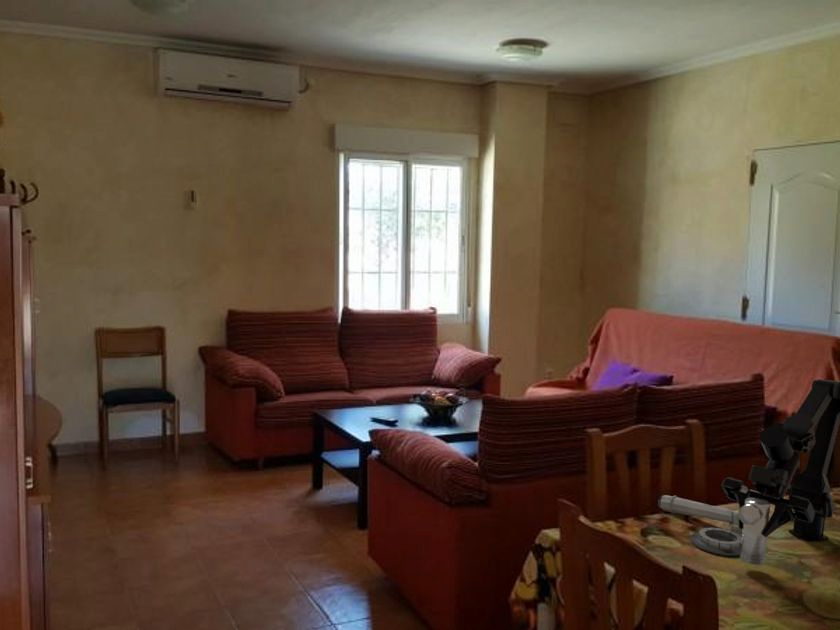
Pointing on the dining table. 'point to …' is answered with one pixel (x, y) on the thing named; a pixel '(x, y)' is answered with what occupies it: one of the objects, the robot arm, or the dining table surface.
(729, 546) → the collar
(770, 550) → the dining table surface
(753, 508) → the elbow
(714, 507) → the grey pipe
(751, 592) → the dining table surface
